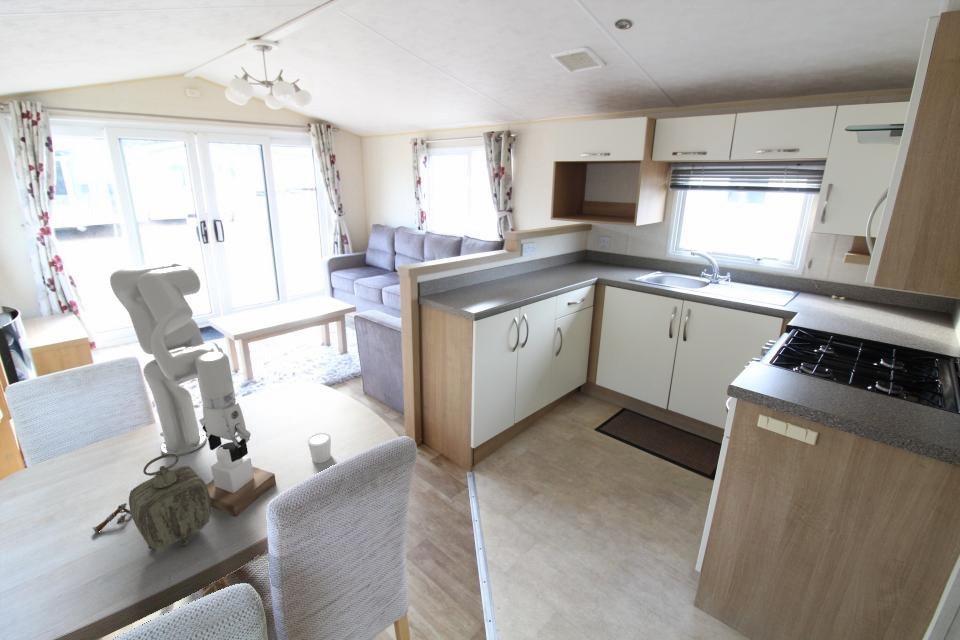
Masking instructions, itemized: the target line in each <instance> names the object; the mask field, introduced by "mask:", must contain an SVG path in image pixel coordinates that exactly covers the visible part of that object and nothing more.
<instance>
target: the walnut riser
mask: <svg viewBox="0 0 960 640" xmlns="http://www.w3.org/2000/svg"><path fill="white" fill-rule="evenodd" d="M252 468H253V474H254V478H253V479H252V480H251V481H249V482H248V483H247V484H245V485H244V486H243V487H241V488H240V489H239V490H238V491H236V492H235V493H231V492H229V491H226V490H223V489H220V488H218V487H215V483H214V479H212V480H211V481H209V482H208V483H205V485H206V486H207V489H208V492H209V495H210V501H211V509H212V508H213V509H214V510H218V511H220V512H223V513H226V514H229V515H231V516H233V517H238V515H240V514H241V513H242V512H243V511H245V510H246V509H247V508H249V506H251V505H252V504H253V503H254V502H255V501H256V500H258V499H259V498H260V497H262V496H263V495H264V494H265V493H266V492H267V491H269V490H270V489H272V488H273V487H274V486H275V485H276V484H277V481H276V476H275V475H276V474H275V473H273V472H270V471H267V470H264V469H261V468H258V467H255V466H252Z"/></svg>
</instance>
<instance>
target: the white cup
mask: <svg viewBox="0 0 960 640" xmlns="http://www.w3.org/2000/svg"><path fill="white" fill-rule="evenodd" d="M331 439H332V438H331V435H330V434H328V433H326V432H319V433H315V434H312V435H311V436H309V438H308V439H307V444H308V447H309V452H310V456H311V460H312V462H314V463H317V464H321V463H325V462H328V461H329V460H330V458H331V456H332V455H331Z"/></svg>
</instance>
